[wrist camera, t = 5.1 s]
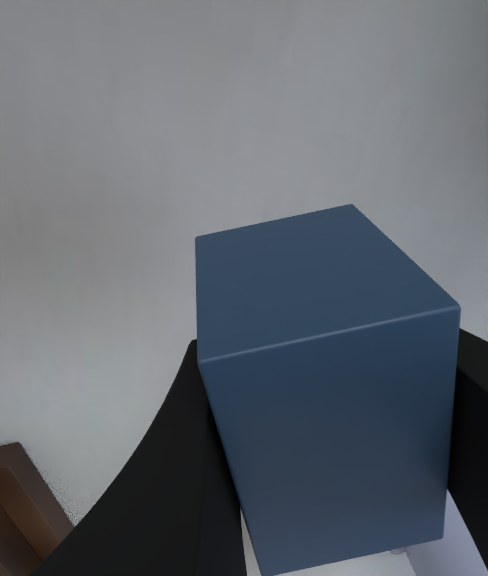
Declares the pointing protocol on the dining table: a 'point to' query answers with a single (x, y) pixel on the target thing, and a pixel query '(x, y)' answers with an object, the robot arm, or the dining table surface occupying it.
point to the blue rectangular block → (327, 385)
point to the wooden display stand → (26, 514)
